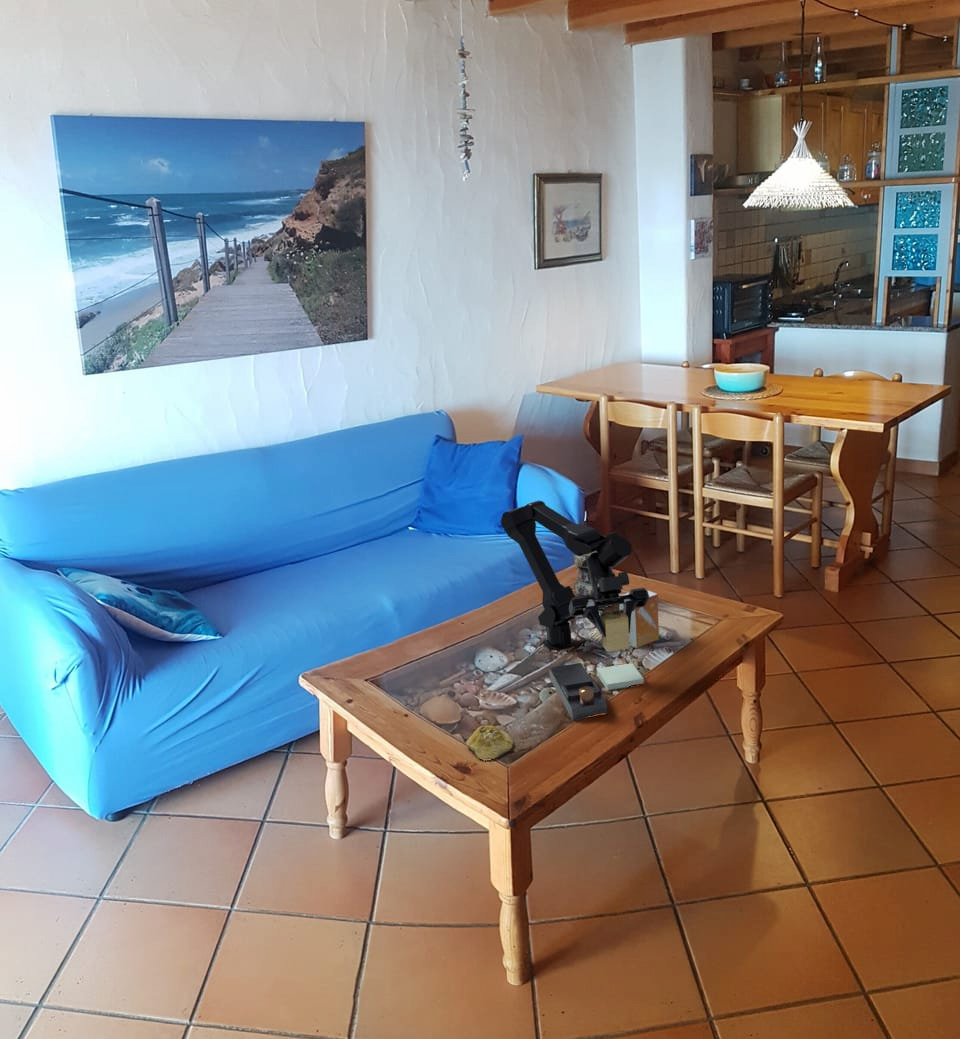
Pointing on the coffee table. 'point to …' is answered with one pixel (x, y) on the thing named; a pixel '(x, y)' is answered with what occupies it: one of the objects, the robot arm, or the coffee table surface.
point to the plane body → (577, 691)
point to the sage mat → (619, 676)
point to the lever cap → (615, 630)
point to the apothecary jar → (583, 579)
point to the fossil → (489, 742)
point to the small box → (644, 622)
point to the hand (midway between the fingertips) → (616, 634)
